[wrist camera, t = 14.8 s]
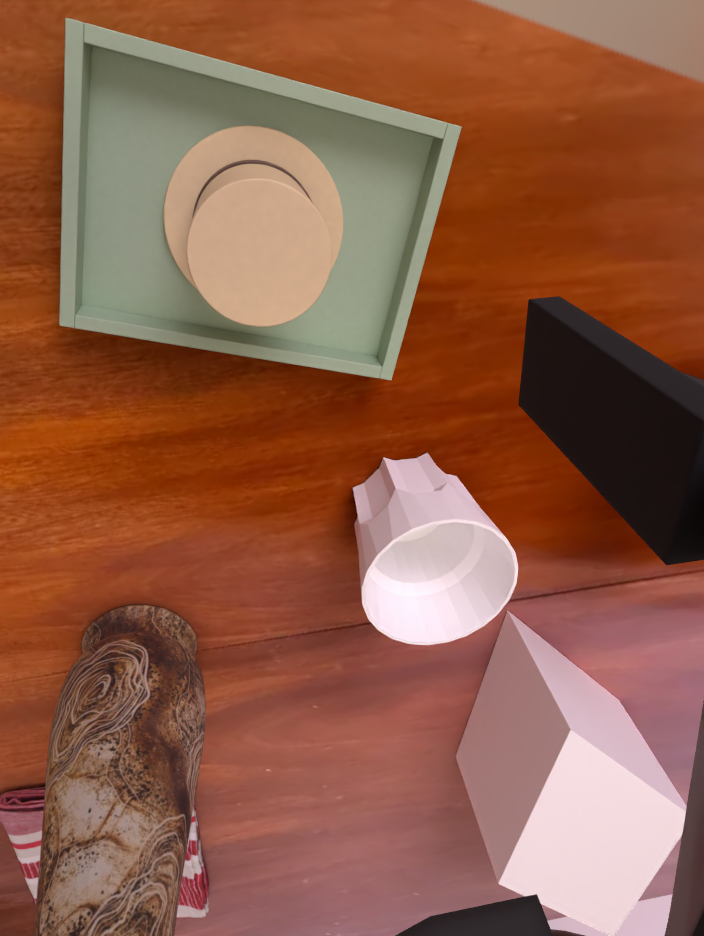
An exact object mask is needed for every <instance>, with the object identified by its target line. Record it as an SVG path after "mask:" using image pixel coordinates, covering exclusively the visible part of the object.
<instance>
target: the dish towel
mask: <svg viewBox="0 0 704 936" xmlns="http://www.w3.org/2000/svg"><path fill="white" fill-rule="evenodd" d="M44 799H45V787H39V788H31V789H23V790H16V791H9V792H6V793H4V794H2V795H1V796H0V821H1V823H2V825H3V826H4V828H5V830H6V832H7V834H8V836H9V838H10V841H11V843H12V845H13V848H14V850H15V852H16V854H17V857H18V860H19V863H20V867H21V869H22V872H23V875H24V876H25V879H26V882H27V884H28V887H29V889H30V891H31V893H32V897H33V900H34V902H35V904H36V898H37V886H38V875H39V863H40V849H41V838H42V825H43V812H44ZM207 892H208V877H207V871H206V867H205V864H204V861H203V858H202V855H201V844H200V834H199V828H198V823H197V817H196V808H195V805H194V807H193V813H192V820H191V826H190V833H189V839H188V845H187V852H186V858H185V864H184V869H183V875H182V881H181V888H180V896H179V902H178V910H177V917H176V919H178V918H192V917H193V918H200V917H205V916H206V913H207V912H208V911H209V910H208V909H209V904H208V893H207Z"/></svg>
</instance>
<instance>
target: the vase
mask: <svg viewBox="0 0 704 936" xmlns="http://www.w3.org/2000/svg"><path fill="white" fill-rule="evenodd" d="M81 649H82V655H81V656H80V657H79V658H78V660H77V661H76V662H75V663H74V664H73V666H72V668H71V669H70V671H69V673H68V674H67V677H66V679H65V681H64V684H63V686H62V689H61V691H60V694H59V697H58V701H57V704H56V708H55V712H54V717H53V721H52V727H51V733H50V741H49V748H48V759H47V771H46V785H45V799H44V812H43V825H42V838H41V849H40V863H39V875H38V886H37V898H36V912H35V922H34V931H33V936H174V930H175V923H176V917H177V910H178V902H179V896H180V888H181V881H182V875H183V869H184V864H185V858H186V852H187V845H188V839H189V833H190V826H191V820H192V813H193V807H194V800H195V794H196V788H197V781H198V775H199V769H200V763H201V757H202V750H203V743H204V733H205V716H206V703H205V689H204V682H203V678H202V674H201V670H200V668H199V666H198V663H197V661H196V660H195V658H194V657H195V654H196V649H197V638H196V635H195V633H194V631H193V629H192V628H191V626H190V625H189V624H188V623H187V622H186V621H185V620H183V619H182V618H181V617H179V616H178V615H176V614H175V613H173V612H171V611H169V610H166V609H163V608H160V607H155V606H149V605H130V606H124V607H120V608H117V609H114V610H111V611H109V612H107V613H105V614H104V615H102V616H101V617H99V618H98V619H96V620H95V621H94V622H93V623H92V624H91V625H90V626H89V627H88V629H87V630H86V631H85V634H84V637H83V640H82V643H81Z"/></svg>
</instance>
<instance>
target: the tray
mask: <svg viewBox="0 0 704 936" xmlns="http://www.w3.org/2000/svg"><path fill="white" fill-rule="evenodd" d="M242 125H256V126H263V127H269V128H272V129H275V130H278V131H281V132H284V133H286V134H288V135H290V136H292V137H294V138H295V139H297V140H298V141H300V142H301V143H303V144H304V145H305V146H306V147H308V148H309V149H310V150H311V151H312V152H313V153H314V154H315V155H316V156H317V157H318V158H319V159H320V161H321V162H322V163H323V164H324V166H325V167H326V169H327V170H328V172H329V173H330V175H331V177H332V179H333V181H334V183H335V185H336V188H337V191H338V194H339V197H340V201H341V206H342V213H343V236H342V242H341V247H340V250H339V254H338V257H337V259H336V262H335V264H334V266H333V268H332V270H331V271H330V274H329V278H328V281H327V283H326V286H325V288H324V290H323V292H322V293H321V295H320V297H319V298H318V299H317V300H316V302H315V303H314V304H313V305H312V306H311V307H310V308H309V309H308V310H307V311H306V312H304V313H303V314H302V315H300V316H299V317H297V318H295V319H293V320H291V321H289V322H286V323H283V324H280V325H276V326H269V327H255V326H248V325H244V324H240V323H237V322H235V321H232V320H230V319H228V318H226V317H225V316H223V315H221V314H220V313H219V312H217V311H216V310H215V309H214V308H212V307H211V306H210V305H209V304H208V303H207V302H206V300H205V299H204V298H203V297H202V296H201V294H200V293H199V291H198V290H197V289H196V288H195V287H194V286H193V285H192V284H191V283H190V282H189V281H188V279H187V278H186V277H185V276H184V275H183V273H182V272H181V270H180V269H179V267H178V266H177V264H176V262H175V260H174V258H173V256H172V254H171V251H170V248H169V245H168V242H167V238H166V234H165V227H164V202H165V196H166V191H167V188H168V185H169V181H170V179H171V177H172V175H173V173H174V170H175V169H176V167H177V166H178V164H179V162H180V161H181V159H182V158H183V157H184V156H185V155H186V154H187V152H188V151H189V150H190V149H191V148H192V147H193V146H195V145H196V144H197V143H198V142H199V141H201V140H202V139H204V138H205V137H207V136H209V135H210V134H213V133H215V132H217V131H220V130H222V129H226V128H230V127H234V126H242ZM460 131H461V126H457V125H454V124H450V123H446V122H443V121H439V120H436V119H432V118H428V117H425V116H421V115H417V114H414V113H410V112H407V111H403V110H399V109H396V108H392V107H388V106H385V105H381V104H378V103H374V102H370V101H367V100H363V99H359V98H356V97H352V96H349V95H345V94H341V93H338V92H334V91H331V90H327V89H323V88H320V87H316V86H312V85H309V84H305V83H302V82H298V81H294V80H291V79H287V78H283V77H280V76H276V75H273V74H269V73H265V72H262V71H258V70H254V69H251V68H247V67H244V66H240V65H236V64H233V63H229V62H225V61H222V60H218V59H215V58H211V57H207V56H204V55H200V54H196V53H193V52H189V51H186V50H182V49H178V48H175V47H171V46H168V45H164V44H160V43H157V42H153V41H149V40H146V39H142V38H139V37H135V36H131V35H128V34H124V33H120V32H117V31H113V30H110V29H106V28H102V27H99V26H95V25H91V24H88V23H84V22H81V21H77V20H73V19H70V18H66V19H65V63H64V113H63V163H62V213H61V263H60V313H59V325H60V326H64V327H70V328H74V327H75V328H76V329H82V330H88V331H94V332H100V333H106V334H113V335H119V336H125V337H131V338H137V339H143V340H149V341H155V342H161V343H167V344H173V345H179V346H185V347H191V348H197V349H203V350H209V351H216V352H222V353H228V354H234V355H240V356H246V357H252V358H258V359H264V360H270V361H276V362H282V363H288V364H294V365H300V366H306V367H312V368H318V369H325V370H331V371H337V372H343V373H349V374H355V375H361V376H367V377H373V378H380V379H385V380H392V376H393V372H394V369H395V365H396V362H397V358H398V354H399V351H400V347H401V344H402V340H403V336H404V333H405V329H406V325H407V322H408V318H409V315H410V311H411V307H412V304H413V300H414V297H415V293H416V289H417V286H418V282H419V279H420V275H421V271H422V268H423V264H424V261H425V257H426V253H427V250H428V246H429V243H430V239H431V235H432V232H433V228H434V225H435V221H436V217H437V214H438V210H439V207H440V203H441V199H442V196H443V192H444V188H445V185H446V181H447V178H448V174H449V170H450V167H451V163H452V160H453V156H454V152H455V149H456V145H457V142H458V138H459V134H460Z"/></svg>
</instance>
